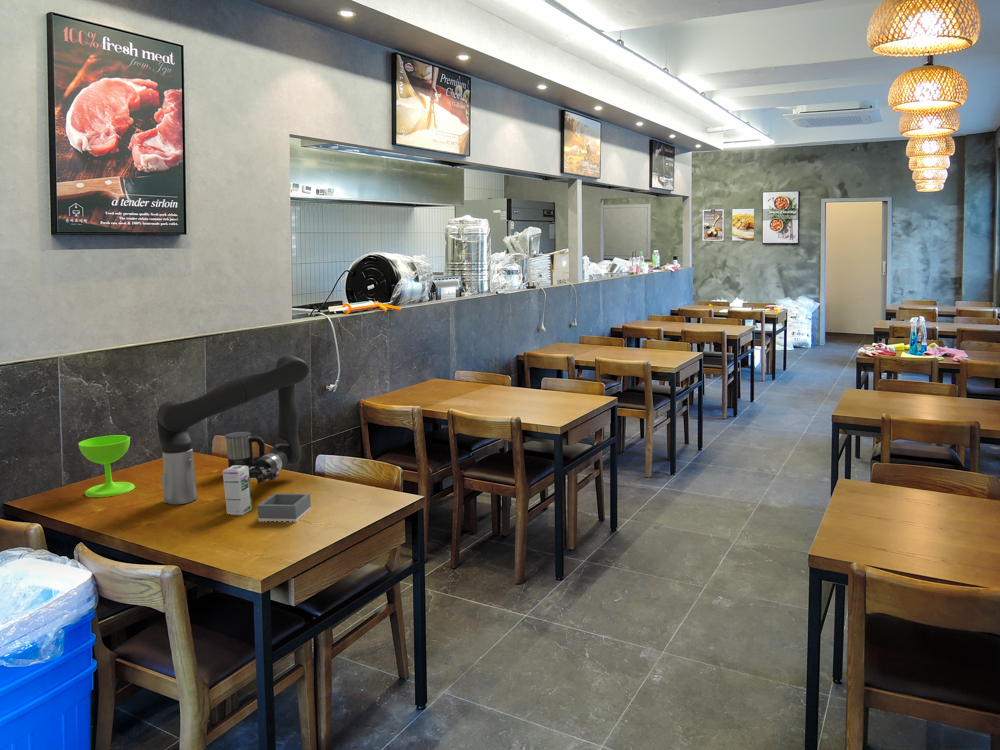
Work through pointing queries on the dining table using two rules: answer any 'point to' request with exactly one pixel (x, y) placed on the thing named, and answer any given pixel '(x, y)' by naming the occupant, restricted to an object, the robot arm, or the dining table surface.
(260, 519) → the socket box
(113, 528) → the dining table surface
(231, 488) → the syrup box
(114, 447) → the wineglass
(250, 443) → the milk frother
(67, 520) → the dining table surface
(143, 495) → the dining table surface
